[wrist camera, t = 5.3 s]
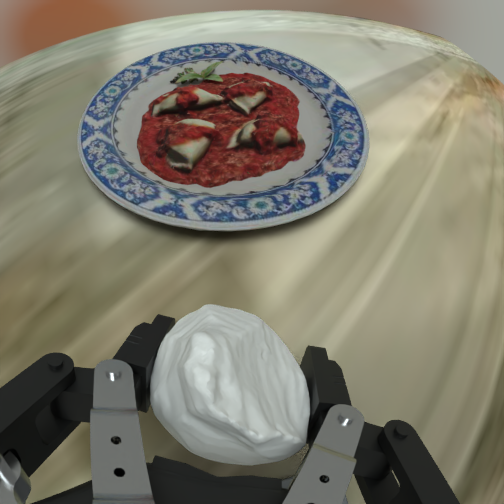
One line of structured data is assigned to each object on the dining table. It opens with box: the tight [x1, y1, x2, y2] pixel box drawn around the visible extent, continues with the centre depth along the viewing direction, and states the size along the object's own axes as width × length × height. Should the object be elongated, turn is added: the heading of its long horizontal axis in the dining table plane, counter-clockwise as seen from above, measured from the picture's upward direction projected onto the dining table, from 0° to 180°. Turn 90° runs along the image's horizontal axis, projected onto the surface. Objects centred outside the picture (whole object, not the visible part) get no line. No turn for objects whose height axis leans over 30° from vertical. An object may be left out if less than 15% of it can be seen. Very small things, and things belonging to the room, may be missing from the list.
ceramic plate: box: [77, 42, 369, 231], centre depth 26 cm, size 26×26×3 cm
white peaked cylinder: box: [150, 304, 310, 465], centre depth 11 cm, size 6×12×6 cm
